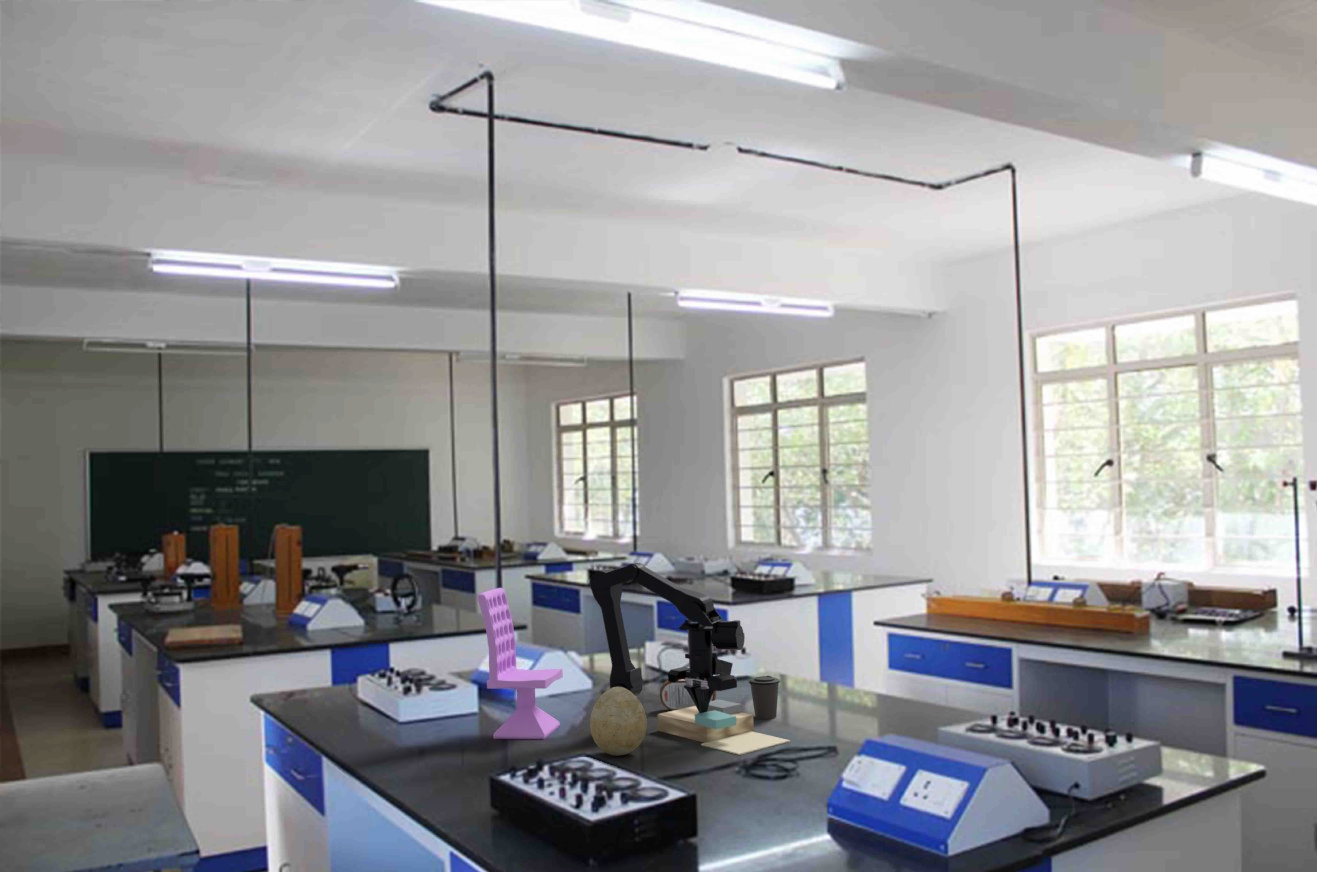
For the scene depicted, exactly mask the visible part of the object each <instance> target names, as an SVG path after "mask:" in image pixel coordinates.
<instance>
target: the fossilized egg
mask: <svg viewBox="0 0 1317 872" xmlns="http://www.w3.org/2000/svg"><path fill="white" fill-rule="evenodd" d="M646 715H647V714H646V712H645V709H644V706H643V705H642V703H641V701H640V700H639V698H638V696H637V697H636V696H635V695H634V694H633V693H632V692H631V691H629V690H627V689H626V688H623V687H613V688H610V687H609V689H607V690H605V691H604V692H603V693H602V694H601V695H600V697H599V698H598V699H597V701H596V702H595V704H594V706H593V708H592V711H591V714H590V718H589V729H590V735H591V736H592V739H593V741H594V743H595V744H596V746H597V747H598V748H599V749H600V750H602V752H604V753H605V754H608V755H611V756H617V757H618V756H620V757H621V755H622V756H626V755H629V754H630V753H632V752H634V751H635V750H637V748H638V747H639V746H640V745H641V744H642V743H643V740H644V739H645V736H646V734H647V733H646V732H647V727H648V721H647V716H646Z"/></svg>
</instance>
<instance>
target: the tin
mask: <svg viewBox="0 0 1317 872" xmlns="http://www.w3.org/2000/svg"><path fill="white" fill-rule="evenodd" d="M705 680H706V679H705ZM685 685H686V680H684V679H680V680H678V682H677V683H673V682H668V679H667V680H665V681H664V682H663V683H662V684H661V686H660V689H659V700H660V702H661V703H662V705H663V706H664V707H665V708H666V709H668V710H669V711H674V710H679V709H683V708H688V707H693V706H696V705H695V703H694V702H693V700H692V698H691V696H690V695H689V693H688V691H687V690H686V688H684V686H685ZM716 698H717V691H714V693H713V694H712V697H711V700H710V701H714V700H716Z"/></svg>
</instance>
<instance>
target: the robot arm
mask: <svg viewBox="0 0 1317 872" xmlns="http://www.w3.org/2000/svg"><path fill="white" fill-rule="evenodd" d="M632 581H633V582H635V583H636V584H638V585H640V586H642V587H643V588H645V589H647V590H649V591H650V592H652V593H654V594H656V595H657V596H658V597H660V598H662V599H664V600H666V601H668V602H669V603H671V604H672V605H673V606H674V607H675V609H676V610H677V611H678V612H679V613H680V614H681V615H683V617H685V618H686V619H685V620H684V622H683V623H682V624H681V625H680V626H679V627H678V630H679V631H687V644H688V653H684V658H685V659H687V660H688V667H686V666H684V667H683V666H682V667H678V668H673V669H670V670H669V672H668V673H667V680H668V682H673V683H677V682H678V680H680V679H684V680H686V685H685V686H684V688H686V690H687V691H688V693H689V695H690V696H691V698H692V700H693V702H694V703H695V705H696V707H697V709H698V711H699V713H703V712H707V710H708V707H709V703H710V700H711V697H712V694H713V693H714V691H716V692H722V691H726V690H727V691H728V690H731V689H737V687H738V680H737V677H735V675H733V674H732V671H733V670H732V668H733V662H730V661H726V660H723V659H720V658H718V653H717V652H715V651H714V650H713V647H715V648H716V649H717V650H722V651H723V650H724V651H726V650H729V651H742V649H743V648H744V644H745V632H744V629H743V627H742V625H741V621H740V619H739V620H738V619H736V620H735V619H734V620H724V619H723V617H722V616H721V615H720V613H719V612H718V611H717V609H716V608H715V607H714V602H713V599H712V598H711V597H710V596H709V595H707V594H705V593H701V592H699V591H696V590H695V591H694V590H691V589H687V588H684V587H681V586H680V585H679V584H676V583H674V582H673V581H671V580H669V579H667V578H666V577H664V576H662V575H660V574H659V573H657V572H655V571H653V570H651V569H650V568H648V567H646V566H645V565H644V564H643V563H640V562H634V563H630V564H627V565H626V566H623V567H621V568H617V569H613V568H608V569H602V570H598V571H595V572H594V573H592V575H591V576H590V577H589V588H590V591H591V593H592V596H593V598H594V600H595V602H596V603H597V605H599V607H600V609H601V614H602V620H603V626H604V630H605V631H604V632H605V636H606V641H607V642H606V643H607V646H608V653H609V657H610V663H611V669H610V674H609V689H610V688H613V687H623V688H626V689H627V690H629V691H631V692H632V693H633V694H634V695H635V696H636V697H637V698H638V696H640V694H641V693H642V691H643V684H645V681H644V679H643V676H642V668H641V667H640V666H638V667H635V665H634V664H633V663H632V660H631V655H630V651H629V645H628V640H627V636H626V630H625V629H626V628H625V624H624V618H623V614H622V608H621V599H622V595H623V585H624V584H627V583H630V582H632ZM705 679H706V680H705Z"/></svg>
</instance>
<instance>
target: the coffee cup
mask: <svg viewBox="0 0 1317 872" xmlns="http://www.w3.org/2000/svg"><path fill="white" fill-rule="evenodd" d="M780 683H781V680H780V679H779V678H777V677H773V676H771V675H766V676H765V675H762V676H756V677H754V678H751V679H749V681H748V684H750V690H751V696H752V703H753V704H752V705H753V710H754V717H755V719H758V720H772V719H776V718H777V713H778V712H777V711H778V699H779V698H778V696H779V684H780Z"/></svg>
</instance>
